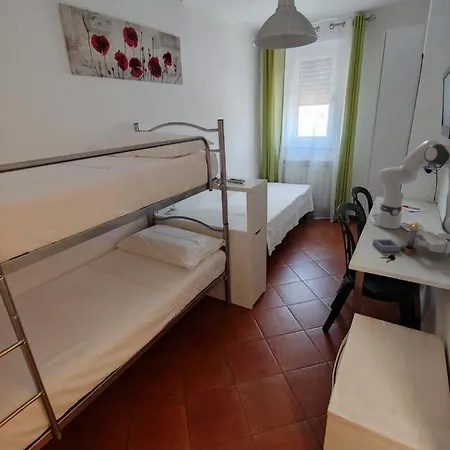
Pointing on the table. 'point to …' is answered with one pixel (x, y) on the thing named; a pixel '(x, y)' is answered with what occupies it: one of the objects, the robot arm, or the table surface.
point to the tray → (386, 246)
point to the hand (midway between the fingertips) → (413, 239)
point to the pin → (412, 236)
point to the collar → (409, 250)
